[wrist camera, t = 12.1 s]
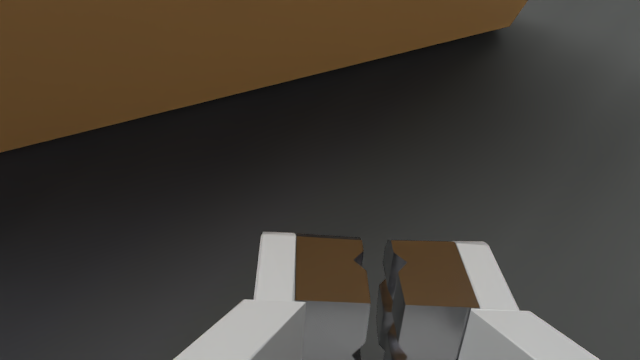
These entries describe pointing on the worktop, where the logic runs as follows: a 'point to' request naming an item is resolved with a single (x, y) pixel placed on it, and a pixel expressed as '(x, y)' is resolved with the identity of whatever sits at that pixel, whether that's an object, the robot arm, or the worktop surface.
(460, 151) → the worktop surface
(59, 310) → the worktop surface
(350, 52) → the side door
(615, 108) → the worktop surface
